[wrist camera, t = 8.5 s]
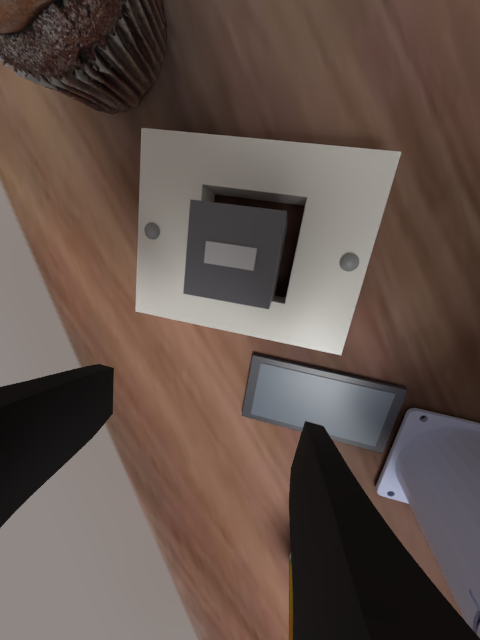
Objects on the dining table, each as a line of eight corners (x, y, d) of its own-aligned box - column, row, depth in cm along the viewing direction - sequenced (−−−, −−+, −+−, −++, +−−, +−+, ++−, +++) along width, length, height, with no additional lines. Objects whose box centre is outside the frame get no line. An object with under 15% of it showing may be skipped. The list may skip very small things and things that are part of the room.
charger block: (288, 226, 16) (286, 210, 10) (276, 291, 17) (268, 310, 12) (224, 217, 17) (188, 198, 11) (217, 281, 18) (181, 294, 12)
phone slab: (254, 350, 19) (252, 355, 18) (401, 383, 18) (408, 390, 17) (243, 408, 21) (241, 416, 20) (378, 443, 19) (383, 453, 18)
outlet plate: (383, 168, 14) (402, 150, 12) (334, 341, 17) (341, 356, 15) (162, 146, 16) (140, 126, 14) (154, 304, 20) (134, 311, 17)
